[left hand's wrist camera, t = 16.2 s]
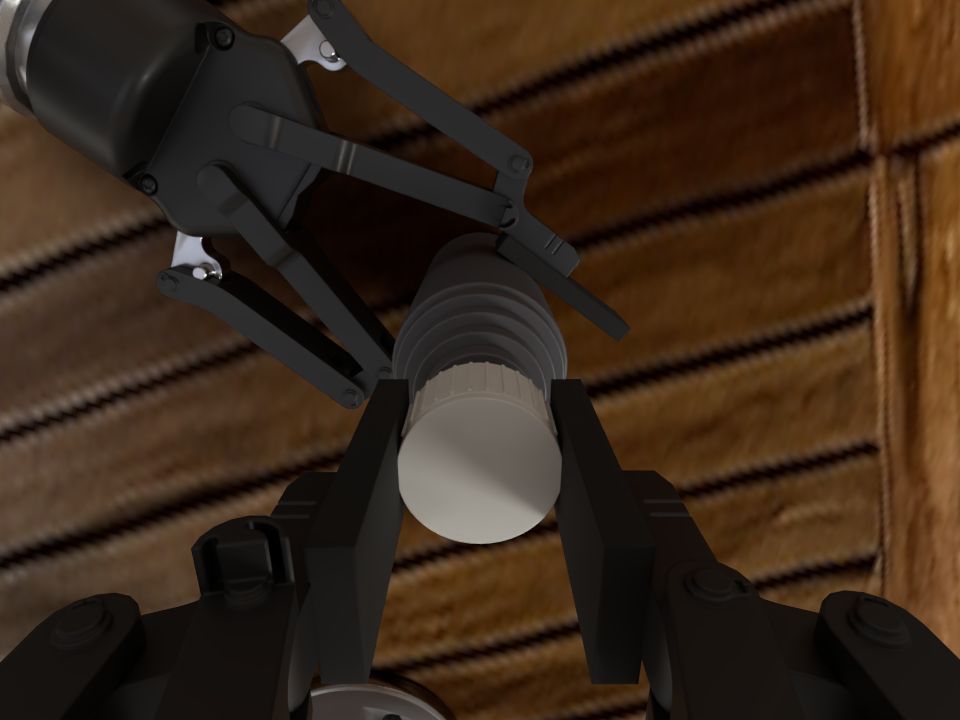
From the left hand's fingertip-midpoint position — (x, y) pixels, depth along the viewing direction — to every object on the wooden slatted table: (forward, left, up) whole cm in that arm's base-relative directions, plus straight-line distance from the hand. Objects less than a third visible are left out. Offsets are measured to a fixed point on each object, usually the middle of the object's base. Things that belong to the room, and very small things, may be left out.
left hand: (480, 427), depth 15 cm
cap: (0, 0, +2) cm, 2 cm away
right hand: (+3, -4, -11) cm, 12 cm away
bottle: (0, 0, -17) cm, 17 cm away
